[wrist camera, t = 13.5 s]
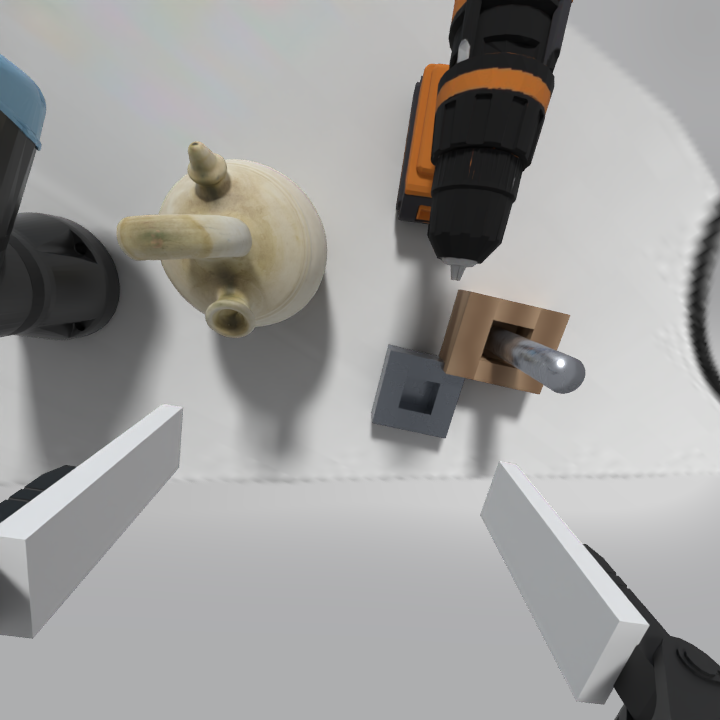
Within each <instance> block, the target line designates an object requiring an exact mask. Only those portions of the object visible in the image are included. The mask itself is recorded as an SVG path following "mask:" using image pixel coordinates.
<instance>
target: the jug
mask: <svg viewBox="0 0 720 720" xmlns="http://www.w3.org/2000/svg"><path fill="white" fill-rule="evenodd" d="M188 154H189V160H190V163H189V165H188V173H187V174H186V175H185V176H183V177H182V178H181V179H180V180H179V181H178V182H177V183H176V184H175V185H174V186H173V187H172V188H171V190H170V191H169V193H168V194H167V196H166V197H165V199H164V201H163V203H162V206H161V208H160V211H159V215H144V216H132V217H126V218H124V219H122V220H121V221H120V222H119V223H118V226H117V240H118V244H119V246H120V248H121V249H122V250H123V252H124V253H125V254H126V255H127V256H128V257H130V258H131V259H133V260H136V261H141V260H161V263H162V266H163V268H164V270H165V272H166V274H167V276H168V278H169V279H170V281H171V282H172V284H173V285H174V287H175V288H176V289H177V291H178V292H179V293H180V294H181V295H182V297H183V298H184V299H185V300H186V301H187V302H189V303H190V304H191V305H192V306H193V307H194V308H196V309H197V310H199V311H200V312H202V313H203V314H205V318H206V322H207V324H208V326H209V327H210V328H211V329H212V330H214V331H215V332H217V333H218V334H220V335H222V336H225V337H231V338H240V337H244V336H247V335H248V334H250V333H251V332H252V331H253V330H254V328H255V327H261V326H267V325H272V324H275V323H278V322H281V321H283V320H286V319H288V318H290V317H292V316H293V315H295V314H296V313H298V312H299V311H300V310H301V309H303V308H304V307H305V306H306V305H307V304H308V302H309V301H310V300H311V299H312V297H313V296H314V295H315V293H316V291H317V290H318V288H319V286H320V283H321V281H322V278H323V275H324V272H325V267H326V261H327V242H326V236H325V231H324V228H323V225H322V222H321V219H320V217H319V215H318V213H317V211H316V209H315V207H314V206H313V204H312V202H311V201H310V199H309V198H308V197H307V195H306V194H305V193H304V192H303V191H302V189H301V188H300V187H299V186H298V185H296V184H295V183H294V182H293V181H292V180H290V179H289V178H288V177H286V176H285V175H283V174H282V173H280V172H279V171H277V170H275V169H273V168H271V167H268V166H266V165H263V164H260V163H257V162H253V161H248V160H238V159H229V160H224V158H223V157H221V156H220V155H218V154H215V153H212V151H211V150H210V149H209V148H207V147H206V146H205V145H204V144H203V143H201V142H193V143H191V144H190V145H189V148H188Z"/></svg>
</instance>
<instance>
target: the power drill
mask: <svg viewBox="0 0 720 720" xmlns="http://www.w3.org/2000/svg"><path fill="white" fill-rule="evenodd" d="M572 2H573V0H455V4H454V10H453V16H452V22H451V27H450V33H449V43H450V48H451V50H452V53H451V59H450V65H446V64H429V65H428V66H427V67H426V68H425V70H424V74H423V76H421V80H420V83H419V82H417V83H416V86H415V90H414V95H413V101H412V107H411V114H410V120H409V127H408V133H407V139H406V146H405V152H404V159H403V165H402V172H401V178H400V185H399V191H398V197H397V204H396V209H397V210H399V217H398V219H399V220H404V221H411V222H418V223H425V224H429V226H428V234H427V236H428V238H429V240H430V242H431V245H432V247H433V249H434V251H435V254H436V256H437V258H439V259H442V261H443V262H444V263H445V264H447V265H451V280H457V281H459V280H460V279H461V277H462V274H463V272H464V270H465V268H466V267H473V266H474V265H476V264H481V263H482V262H483V261H484V260H485V259H486V258H487V257H488V256H489V255H490V254H491V253H492V252H493V251H494V250H495V249H496V248H497V247H498V246H499V245H500V244H501V243H502V239H503V236H504V232H505V229H506V225H507V221H508V218H509V214H510V210H511V207H512V204H513V203H514V202H515V200H516V197H517V193H518V188H519V184H520V179H521V175H522V172H523V171H524V170H525V168H527V167H528V166H530V164H531V162H532V158H533V155H534V152H535V149H536V145H537V142H538V139H539V136H540V133H541V129H542V126H543V123H544V120H545V114H546V111H547V108H548V105H549V101H550V98H551V95H552V92H553V89H554V75H553V70H554V67H555V64H556V62H557V59H558V57H559V55H560V50H561V46H562V42H563V37H564V33H565V28H566V24H567V20H568V15H569V11H570V7H571V3H572Z"/></svg>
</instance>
